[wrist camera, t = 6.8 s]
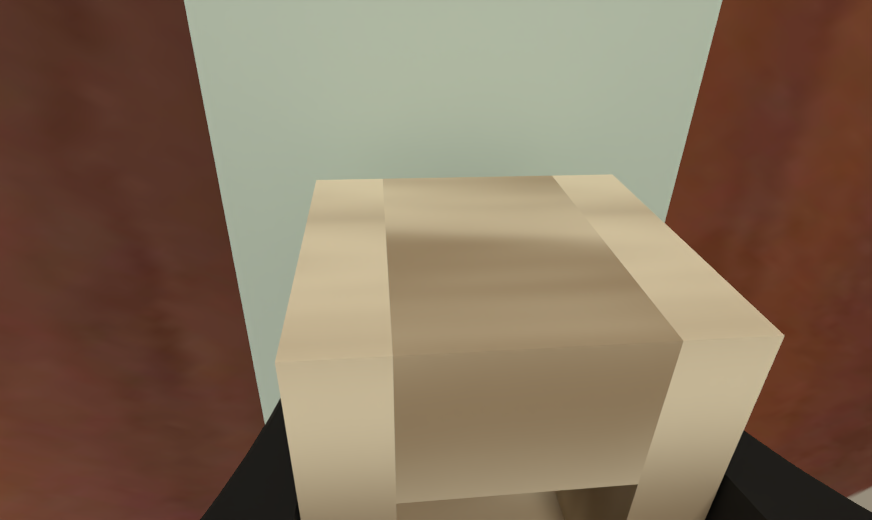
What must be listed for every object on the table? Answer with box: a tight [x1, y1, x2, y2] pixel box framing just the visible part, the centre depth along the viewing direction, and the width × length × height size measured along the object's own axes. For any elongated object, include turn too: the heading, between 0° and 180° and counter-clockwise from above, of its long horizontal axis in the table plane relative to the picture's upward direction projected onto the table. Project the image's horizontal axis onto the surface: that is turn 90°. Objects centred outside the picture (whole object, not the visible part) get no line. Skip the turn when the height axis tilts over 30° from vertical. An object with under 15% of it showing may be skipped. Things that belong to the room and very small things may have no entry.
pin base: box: [184, 0, 722, 424], centre depth 13 cm, size 16×10×4 cm, turn 179°
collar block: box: [275, 174, 784, 520], centre depth 10 cm, size 8×6×5 cm
